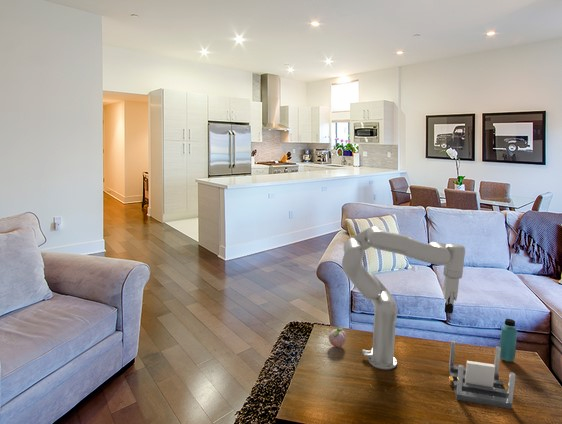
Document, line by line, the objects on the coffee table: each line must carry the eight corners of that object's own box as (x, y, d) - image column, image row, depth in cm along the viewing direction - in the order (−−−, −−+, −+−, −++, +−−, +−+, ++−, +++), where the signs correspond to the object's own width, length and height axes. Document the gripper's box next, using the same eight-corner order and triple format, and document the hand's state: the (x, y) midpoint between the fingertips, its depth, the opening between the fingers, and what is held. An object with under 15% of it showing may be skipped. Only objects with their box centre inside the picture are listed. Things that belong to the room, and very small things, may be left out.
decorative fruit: (331, 341, 189) (331, 322, 187) (347, 344, 186) (347, 325, 184) (326, 350, 180) (326, 330, 179) (342, 353, 177) (343, 334, 176)
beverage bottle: (516, 365, 168) (521, 324, 165) (500, 363, 169) (505, 322, 166) (511, 357, 174) (515, 317, 171) (495, 355, 176) (499, 316, 172)
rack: (453, 398, 145) (456, 366, 143) (445, 369, 165) (448, 339, 163) (515, 409, 139) (519, 375, 137) (499, 377, 159) (503, 347, 157)
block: (465, 385, 152) (467, 363, 150) (464, 382, 154) (466, 360, 152) (492, 389, 149) (495, 367, 148) (491, 386, 151) (493, 364, 150)
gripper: (442, 266, 168) (438, 304, 171) (445, 276, 154) (440, 318, 157) (460, 268, 166) (455, 307, 169) (464, 279, 152) (459, 321, 155)
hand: (448, 312), depth 163 cm, fingers closed
